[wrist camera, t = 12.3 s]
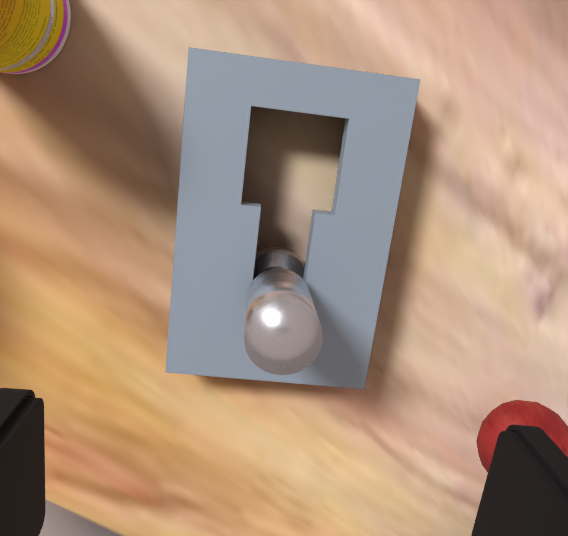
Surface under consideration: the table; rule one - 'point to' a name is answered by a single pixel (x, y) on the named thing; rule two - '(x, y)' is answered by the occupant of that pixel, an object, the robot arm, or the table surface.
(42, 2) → the supplement bottle
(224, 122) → the keyhole plate
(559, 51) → the table surface
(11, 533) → the robot arm
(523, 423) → the onion
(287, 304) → the stud
